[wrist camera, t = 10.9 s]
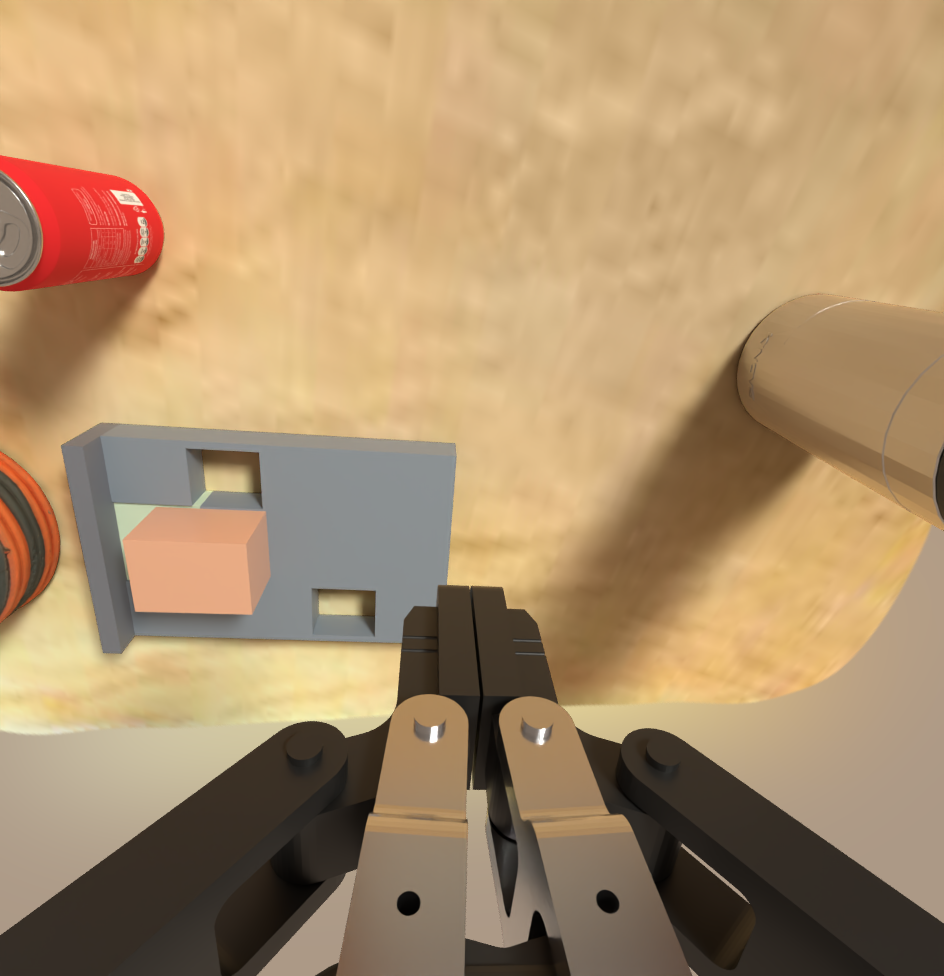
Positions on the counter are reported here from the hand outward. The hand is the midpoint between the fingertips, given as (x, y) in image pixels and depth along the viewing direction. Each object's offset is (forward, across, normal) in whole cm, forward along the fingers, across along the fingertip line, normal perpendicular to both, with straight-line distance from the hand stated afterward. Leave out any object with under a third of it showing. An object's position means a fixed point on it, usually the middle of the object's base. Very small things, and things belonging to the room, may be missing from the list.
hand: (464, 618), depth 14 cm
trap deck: (+27, +10, +12) cm, 31 cm away
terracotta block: (+24, +15, +12) cm, 31 cm away
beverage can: (+27, +19, -7) cm, 34 cm away
